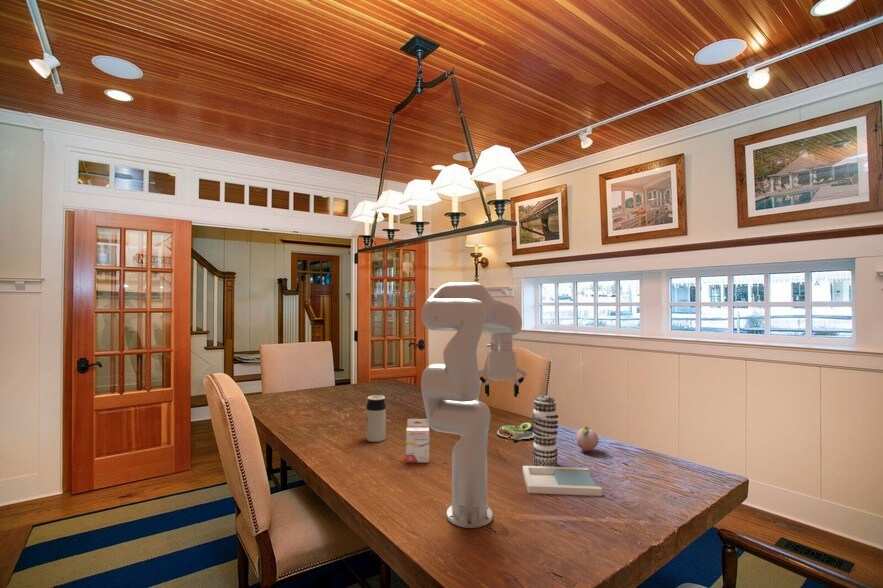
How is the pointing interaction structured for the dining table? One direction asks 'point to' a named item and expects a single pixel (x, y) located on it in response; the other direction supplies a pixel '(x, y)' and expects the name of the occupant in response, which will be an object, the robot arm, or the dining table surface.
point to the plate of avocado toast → (519, 431)
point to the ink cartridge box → (417, 441)
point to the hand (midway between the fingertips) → (501, 396)
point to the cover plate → (574, 478)
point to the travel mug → (376, 418)
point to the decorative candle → (545, 431)
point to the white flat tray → (554, 482)
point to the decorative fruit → (586, 439)
